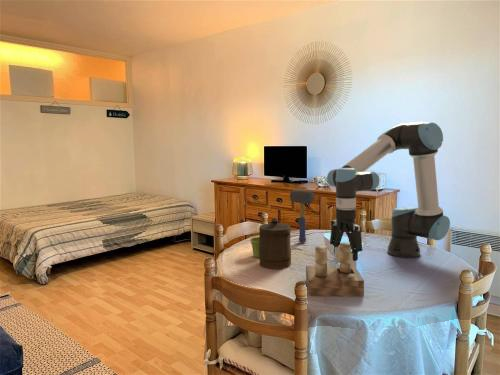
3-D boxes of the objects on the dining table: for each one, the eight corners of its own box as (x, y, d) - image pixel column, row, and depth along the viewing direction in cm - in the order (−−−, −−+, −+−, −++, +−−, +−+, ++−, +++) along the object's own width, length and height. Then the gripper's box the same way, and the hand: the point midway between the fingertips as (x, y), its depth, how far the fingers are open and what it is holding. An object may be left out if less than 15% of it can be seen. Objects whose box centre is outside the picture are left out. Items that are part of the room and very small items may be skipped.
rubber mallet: (315, 242, 210) (315, 189, 206) (309, 245, 204) (308, 191, 200) (296, 239, 217) (295, 188, 213) (289, 242, 211) (288, 190, 207)
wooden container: (297, 263, 177) (296, 217, 174) (278, 271, 166) (277, 223, 163) (272, 257, 186) (271, 213, 184) (253, 264, 175) (251, 219, 173)
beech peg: (350, 276, 150) (350, 242, 148) (352, 280, 145) (352, 245, 143) (338, 276, 150) (338, 242, 148) (340, 280, 146) (340, 245, 144)
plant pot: (272, 257, 186) (271, 240, 185) (254, 260, 182) (254, 242, 181) (264, 252, 194) (264, 236, 193) (247, 254, 191) (247, 238, 190)
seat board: (355, 279, 154) (355, 239, 151) (363, 296, 138) (364, 251, 136) (306, 279, 155) (305, 240, 153) (309, 295, 139) (308, 251, 137)
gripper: (320, 205, 151) (320, 260, 153) (359, 213, 134) (359, 274, 137) (333, 203, 155) (333, 257, 157) (373, 210, 138) (372, 270, 141)
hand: (345, 265), depth 147 cm, fingers open, 7 cm apart
